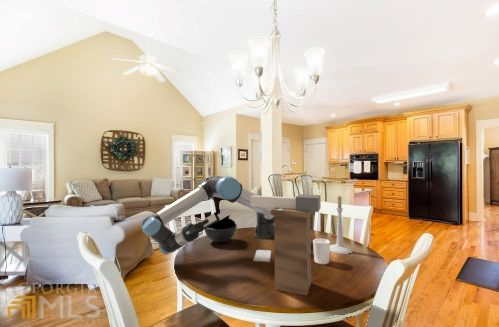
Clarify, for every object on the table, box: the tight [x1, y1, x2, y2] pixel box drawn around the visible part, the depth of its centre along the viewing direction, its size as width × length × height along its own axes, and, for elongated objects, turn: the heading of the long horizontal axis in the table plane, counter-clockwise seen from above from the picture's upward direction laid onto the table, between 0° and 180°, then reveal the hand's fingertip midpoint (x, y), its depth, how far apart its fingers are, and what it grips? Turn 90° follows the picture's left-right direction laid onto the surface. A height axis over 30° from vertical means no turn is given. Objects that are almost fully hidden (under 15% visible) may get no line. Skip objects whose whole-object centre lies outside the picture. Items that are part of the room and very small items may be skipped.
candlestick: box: [330, 195, 354, 255], centre depth 134 cm, size 13×13×30 cm
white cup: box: [312, 238, 331, 265], centre depth 118 cm, size 8×8×10 cm
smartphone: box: [252, 249, 273, 263], centre depth 126 cm, size 8×1×15 cm
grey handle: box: [250, 193, 322, 213], centre depth 96 cm, size 9×27×5 cm, turn 69°
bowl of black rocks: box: [203, 211, 238, 243], centre depth 151 cm, size 20×20×19 cm
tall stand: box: [271, 208, 314, 296], centre depth 94 cm, size 12×14×30 cm
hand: (222, 213), depth 105 cm, fingers open, 13 cm apart
